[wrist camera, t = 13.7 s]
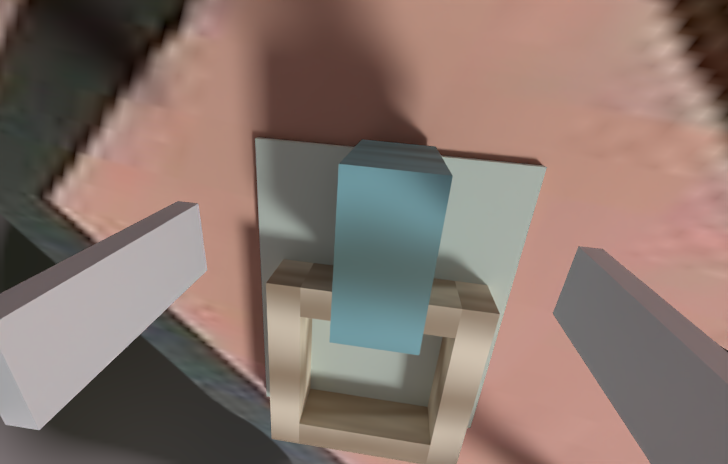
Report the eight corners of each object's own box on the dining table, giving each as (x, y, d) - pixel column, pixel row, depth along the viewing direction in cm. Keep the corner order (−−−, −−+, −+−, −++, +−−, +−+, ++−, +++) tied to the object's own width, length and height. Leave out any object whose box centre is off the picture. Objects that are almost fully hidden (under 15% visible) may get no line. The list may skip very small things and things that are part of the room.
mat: (258, 137, 19) (255, 138, 19) (542, 165, 18) (546, 167, 18) (269, 390, 27) (266, 395, 27) (469, 421, 26) (470, 427, 26)
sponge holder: (281, 131, 19) (217, 150, 12) (521, 155, 18) (587, 190, 11) (285, 403, 27) (247, 500, 20) (449, 429, 26) (464, 540, 19)
